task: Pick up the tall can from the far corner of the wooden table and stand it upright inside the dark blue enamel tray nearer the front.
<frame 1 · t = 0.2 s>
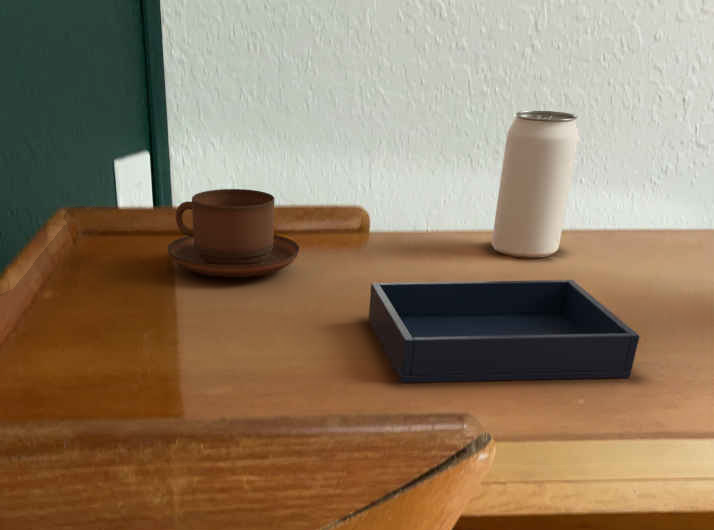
tray: (490, 347, 72), on the table
can: (523, 252, 95), on the table
cup and saucer: (233, 270, 88), on the table
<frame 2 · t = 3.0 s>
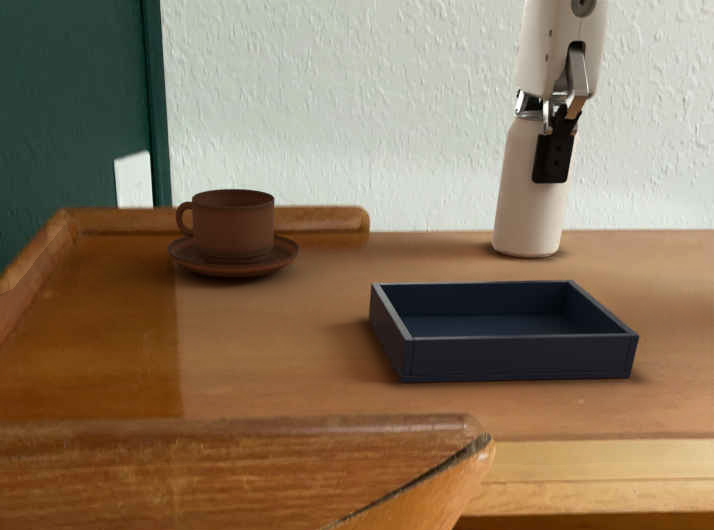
hand: (536, 173, 90), 7 cm above the table, tool pointing down, fingers closed on can, 6 cm apart
can: (523, 252, 95), on the table, touching gripper
everything else where it was.
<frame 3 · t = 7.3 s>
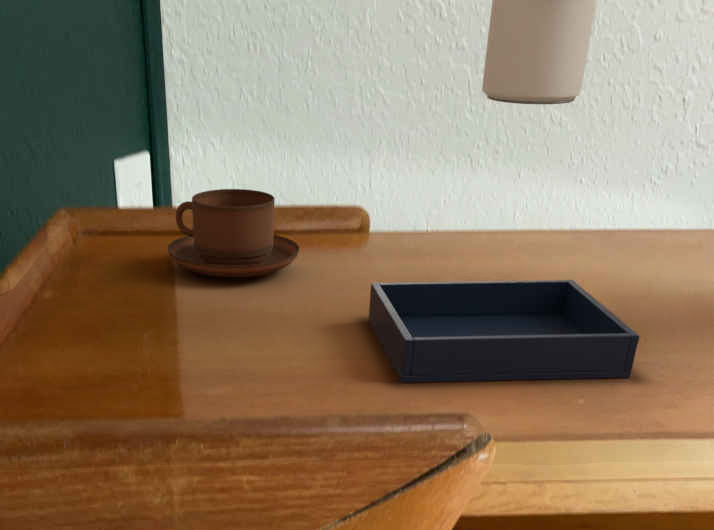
can: (529, 101, 64), point 16 cm above the table, touching gripper
everything else where it was.
when the fingers open (8 cm above the table, at t = 11.5 s): can stays where it is, resting on tray.
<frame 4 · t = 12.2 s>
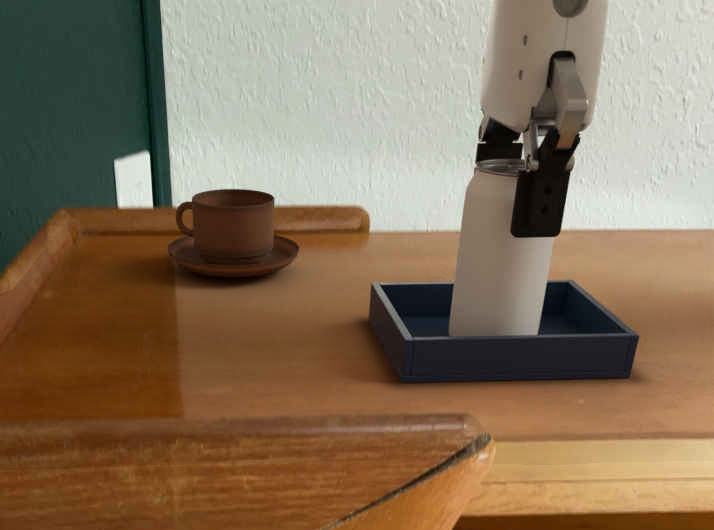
hand: (512, 218, 66), 9 cm above the table, tool pointing down, fingers open, 9 cm apart
can: (490, 343, 71), resting on tray
everything else where it was.
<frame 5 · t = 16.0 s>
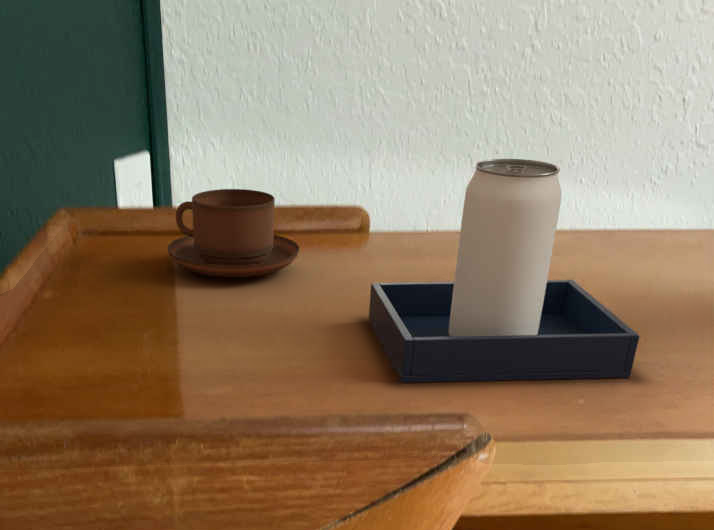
nothing on the table moved.
at the end: can inside the target area in the tray (0.0 cm from its centre), point 0.3 cm above the tray's base; can tilted 0° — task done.
